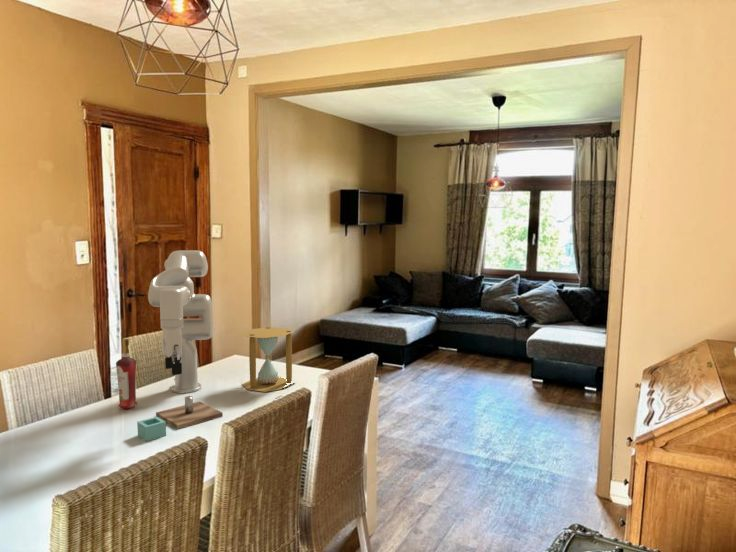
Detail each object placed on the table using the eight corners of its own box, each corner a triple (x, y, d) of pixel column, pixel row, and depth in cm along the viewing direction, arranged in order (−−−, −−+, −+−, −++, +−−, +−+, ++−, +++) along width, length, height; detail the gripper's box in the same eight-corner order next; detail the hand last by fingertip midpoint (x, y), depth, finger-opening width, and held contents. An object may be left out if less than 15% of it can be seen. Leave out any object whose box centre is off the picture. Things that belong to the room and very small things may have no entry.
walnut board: (156, 416, 203) (156, 412, 203) (199, 404, 216) (199, 401, 216) (177, 429, 190) (177, 425, 190) (222, 416, 203) (222, 412, 203)
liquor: (113, 409, 210) (110, 340, 208) (129, 403, 217) (126, 336, 214) (126, 412, 207) (123, 342, 204) (141, 406, 213) (139, 338, 211)
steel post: (183, 412, 203) (183, 397, 202) (191, 410, 205) (190, 395, 204) (187, 414, 201) (187, 399, 200) (194, 412, 203) (194, 397, 202)
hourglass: (272, 374, 260) (271, 324, 257) (304, 383, 245) (303, 330, 243) (232, 385, 241) (231, 331, 239) (264, 395, 227) (263, 338, 225)
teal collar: (137, 435, 185) (137, 421, 184) (157, 429, 190) (157, 416, 189) (146, 441, 180) (145, 427, 179) (166, 435, 185) (165, 421, 184)
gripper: (155, 320, 191) (157, 367, 192) (166, 328, 176) (168, 378, 178) (177, 319, 195) (178, 364, 196) (189, 326, 180) (190, 375, 182)
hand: (173, 371), depth 187 cm, fingers open, 9 cm apart
